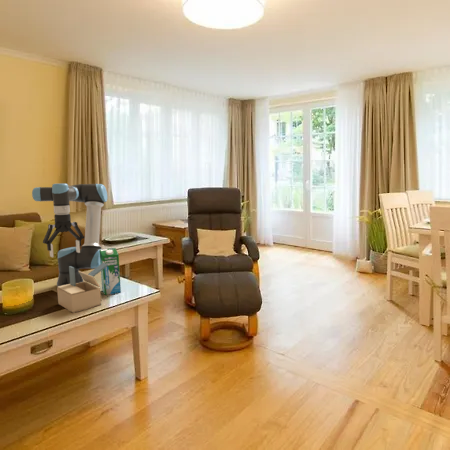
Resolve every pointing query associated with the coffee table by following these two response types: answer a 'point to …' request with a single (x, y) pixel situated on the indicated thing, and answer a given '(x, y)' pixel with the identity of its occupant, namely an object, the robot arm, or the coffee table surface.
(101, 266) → the flap
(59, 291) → the carton box
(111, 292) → the milk carton
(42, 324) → the coffee table surface
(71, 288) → the flap
